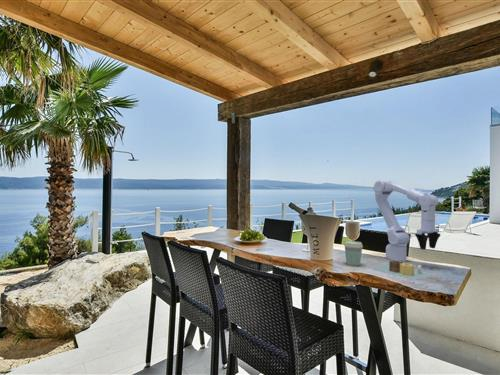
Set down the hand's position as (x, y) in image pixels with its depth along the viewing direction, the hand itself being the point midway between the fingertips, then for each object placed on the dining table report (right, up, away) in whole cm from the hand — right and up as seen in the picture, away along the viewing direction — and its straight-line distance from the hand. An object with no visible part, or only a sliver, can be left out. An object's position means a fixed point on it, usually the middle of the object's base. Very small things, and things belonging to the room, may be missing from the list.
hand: (427, 248), depth 144 cm
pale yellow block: (-17, -8, -14) cm, 24 cm away
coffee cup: (-35, -9, +1) cm, 36 cm away
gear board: (-18, -10, -10) cm, 22 cm away
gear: (-20, -8, -10) cm, 24 cm away
